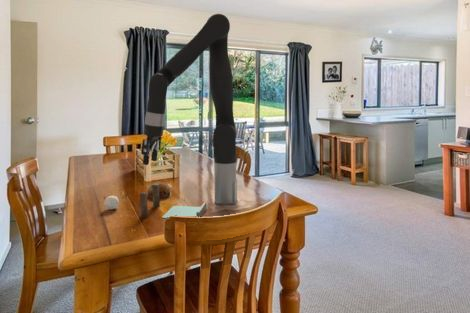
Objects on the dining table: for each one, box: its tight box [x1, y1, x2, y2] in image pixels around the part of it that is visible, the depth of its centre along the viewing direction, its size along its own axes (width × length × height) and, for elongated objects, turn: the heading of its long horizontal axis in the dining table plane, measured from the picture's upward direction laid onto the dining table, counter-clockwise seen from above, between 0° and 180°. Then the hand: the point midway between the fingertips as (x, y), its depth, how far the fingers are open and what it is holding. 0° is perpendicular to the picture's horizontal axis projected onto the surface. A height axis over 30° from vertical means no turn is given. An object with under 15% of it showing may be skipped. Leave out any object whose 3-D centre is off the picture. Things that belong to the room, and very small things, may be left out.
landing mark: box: [161, 205, 208, 219], centre depth 137 cm, size 14×14×1 cm
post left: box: [139, 191, 149, 219], centre depth 132 cm, size 3×3×9 cm
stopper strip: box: [196, 202, 207, 217], centre depth 136 cm, size 1×12×2 cm, turn 172°
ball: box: [104, 195, 120, 211], centre depth 141 cm, size 6×6×6 cm
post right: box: [151, 183, 161, 208], centre depth 144 cm, size 3×3×9 cm
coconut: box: [146, 181, 172, 200], centre depth 160 cm, size 10×10×8 cm
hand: (149, 162), depth 146 cm, fingers open, 8 cm apart
